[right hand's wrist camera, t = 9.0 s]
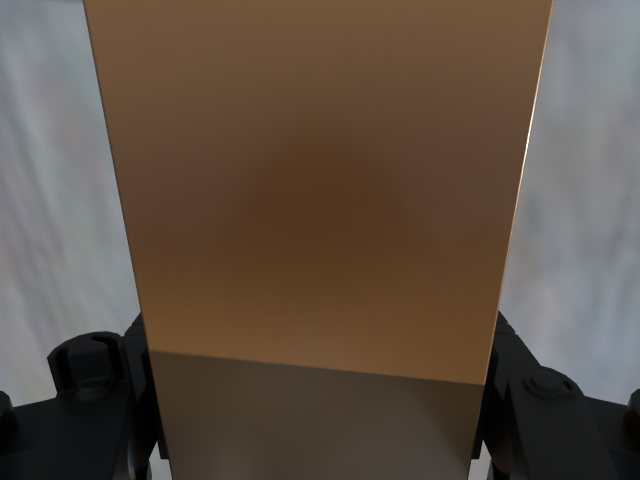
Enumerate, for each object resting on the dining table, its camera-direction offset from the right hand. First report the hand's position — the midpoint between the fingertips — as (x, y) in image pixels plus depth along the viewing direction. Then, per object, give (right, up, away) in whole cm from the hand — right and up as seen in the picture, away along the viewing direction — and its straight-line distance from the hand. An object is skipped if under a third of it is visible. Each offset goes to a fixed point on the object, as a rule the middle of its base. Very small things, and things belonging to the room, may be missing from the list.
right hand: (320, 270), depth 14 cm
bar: (0, +9, -3) cm, 9 cm away
